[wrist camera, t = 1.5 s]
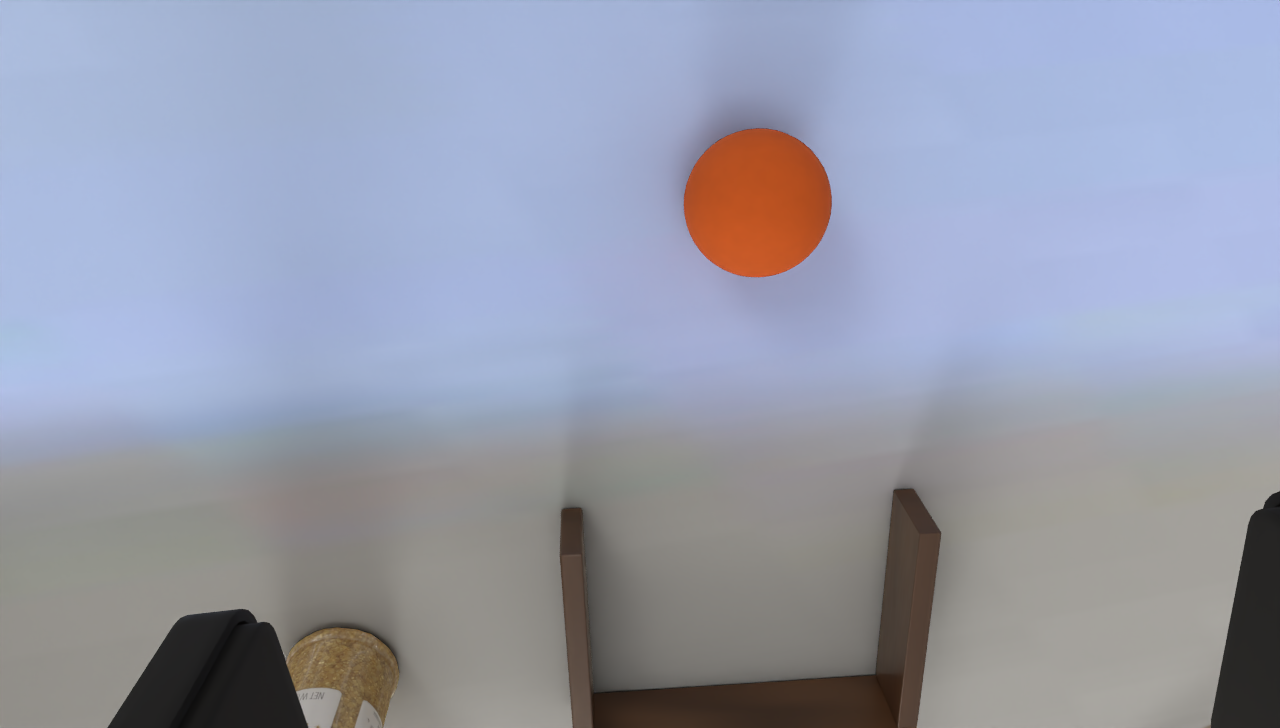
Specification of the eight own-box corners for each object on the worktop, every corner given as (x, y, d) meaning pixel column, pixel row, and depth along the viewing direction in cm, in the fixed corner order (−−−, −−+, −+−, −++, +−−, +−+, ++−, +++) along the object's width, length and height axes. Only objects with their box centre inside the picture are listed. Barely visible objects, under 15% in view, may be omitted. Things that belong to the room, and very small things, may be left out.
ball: (677, 255, 31) (692, 301, 27) (676, 120, 29) (692, 146, 25) (809, 249, 31) (843, 294, 27) (816, 114, 29) (854, 139, 25)
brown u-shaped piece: (576, 708, 39) (575, 765, 36) (561, 508, 35) (559, 554, 32) (892, 687, 39) (915, 742, 37) (913, 488, 35) (941, 532, 33)
